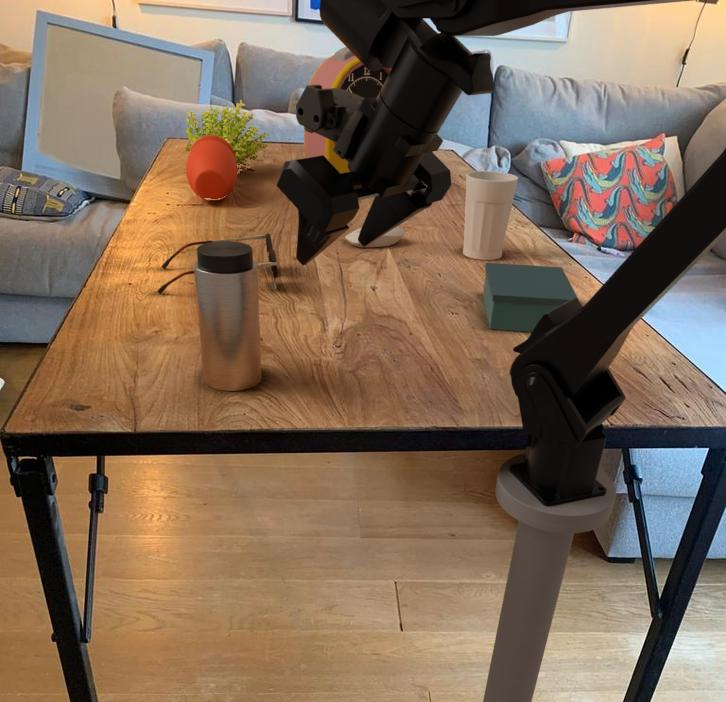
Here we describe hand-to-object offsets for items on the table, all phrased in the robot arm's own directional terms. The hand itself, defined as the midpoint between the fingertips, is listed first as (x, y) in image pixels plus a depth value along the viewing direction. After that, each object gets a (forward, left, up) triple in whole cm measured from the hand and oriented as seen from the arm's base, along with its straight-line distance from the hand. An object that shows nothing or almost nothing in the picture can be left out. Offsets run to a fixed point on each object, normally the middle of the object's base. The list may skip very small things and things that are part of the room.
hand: (332, 252), depth 71 cm
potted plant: (+97, -9, -13) cm, 98 cm away
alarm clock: (+90, -36, -13) cm, 98 cm away
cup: (+37, -39, -13) cm, 55 cm away
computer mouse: (+47, -24, -13) cm, 54 cm away
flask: (+2, +10, -13) cm, 17 cm away
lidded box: (+11, -31, -13) cm, 35 cm away
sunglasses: (+34, +5, -13) cm, 37 cm away
